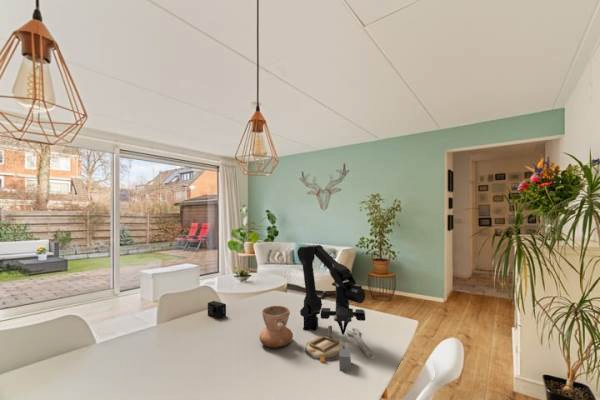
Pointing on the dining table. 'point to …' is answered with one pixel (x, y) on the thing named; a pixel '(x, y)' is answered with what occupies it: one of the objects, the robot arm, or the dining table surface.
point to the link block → (345, 359)
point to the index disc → (324, 346)
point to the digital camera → (217, 309)
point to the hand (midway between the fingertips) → (343, 334)
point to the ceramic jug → (276, 327)
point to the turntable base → (321, 357)
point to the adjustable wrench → (360, 342)
